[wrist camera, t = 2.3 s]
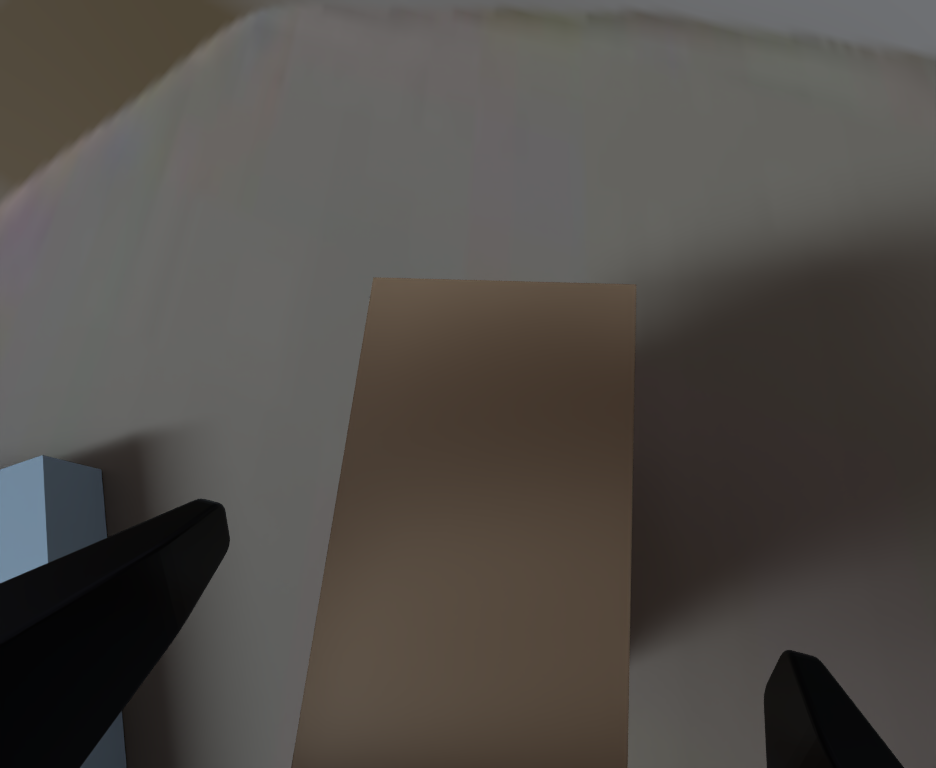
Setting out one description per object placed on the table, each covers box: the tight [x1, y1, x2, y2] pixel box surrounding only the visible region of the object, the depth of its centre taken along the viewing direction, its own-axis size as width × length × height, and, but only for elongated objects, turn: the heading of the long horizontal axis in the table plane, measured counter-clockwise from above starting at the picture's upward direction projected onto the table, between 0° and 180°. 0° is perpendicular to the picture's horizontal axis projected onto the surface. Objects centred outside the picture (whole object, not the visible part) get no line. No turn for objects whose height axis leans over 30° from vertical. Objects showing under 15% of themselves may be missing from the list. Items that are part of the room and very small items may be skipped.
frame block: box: [291, 277, 636, 768], centre depth 13 cm, size 7×4×10 cm, turn 174°
